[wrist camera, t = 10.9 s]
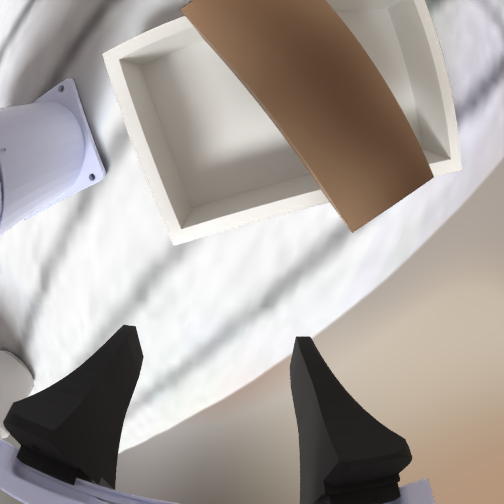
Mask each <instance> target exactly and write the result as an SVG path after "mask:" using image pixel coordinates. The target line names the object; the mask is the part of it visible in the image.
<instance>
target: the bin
mask: <svg viewBox="0 0 504 504" xmlns="http://www.w3.org/2000/svg"><path fill="white" fill-rule="evenodd" d="M326 1H327V2H328V3H329V5H330V6H331V7H332V8H333V9H334V11H335V12H336V13H337V14H338V15H339V17H340V18H341V19H342V20H343V22H344V23H345V24H346V25H347V27H348V28H349V29H350V31H351V32H352V33H353V35H354V36H355V37H356V39H357V40H358V41H359V43H360V44H361V46H362V47H363V48H364V50H365V51H366V53H367V54H368V56H369V57H370V58H371V60H372V61H373V63H374V64H375V66H376V67H377V69H378V71H379V72H380V74H381V75H382V77H383V78H384V80H385V82H386V83H387V85H388V87H389V88H390V90H391V92H392V93H393V95H394V97H395V98H396V100H397V102H398V104H399V105H400V107H401V109H402V111H403V113H404V115H405V116H406V118H407V120H408V122H409V124H410V126H411V128H412V130H413V132H414V134H415V136H416V138H417V140H418V142H419V144H420V146H421V148H422V150H423V153H424V155H425V157H426V159H427V162H428V164H429V166H430V168H431V171H432V173H433V176H438V175H443V174H447V173H452V172H456V171H461V170H462V168H461V155H460V145H459V136H458V128H457V121H456V115H455V109H454V103H453V98H452V92H451V88H450V83H449V78H448V74H447V70H446V66H445V62H444V58H443V54H442V51H441V47H440V44H439V40H438V37H437V34H436V31H435V28H434V25H433V22H432V19H431V16H430V13H429V11H428V8H427V5H426V3H425V0H326ZM102 55H103V59H104V62H105V65H106V69H107V72H108V75H109V78H110V81H111V84H112V87H113V91H114V94H115V97H116V100H117V103H118V105H119V108H120V111H121V114H122V117H123V120H124V123H125V126H126V128H127V131H128V134H129V137H130V139H131V142H132V145H133V147H134V150H135V153H136V155H137V158H138V161H139V163H140V166H141V168H142V171H143V174H144V176H145V179H146V181H147V184H148V186H149V189H150V191H151V193H152V196H153V198H154V201H155V203H156V206H157V208H158V210H159V213H160V215H161V217H162V220H163V222H164V224H165V227H166V229H167V231H168V234H169V236H170V238H171V240H172V243H173V245H174V246H175V245H178V244H181V243H185V242H188V241H192V240H195V239H198V238H202V237H205V236H209V235H212V234H216V233H219V232H222V231H226V230H229V229H233V228H236V227H240V226H244V225H247V224H251V223H254V222H258V221H261V220H265V219H269V218H272V217H276V216H280V215H283V214H287V213H291V212H294V211H298V210H302V209H306V208H309V207H313V206H317V205H321V204H325V203H328V202H329V200H328V199H327V198H326V196H325V195H324V194H323V192H322V191H321V189H320V188H319V186H318V185H317V183H316V182H315V180H314V179H313V177H312V176H311V174H310V173H309V171H308V170H307V169H306V167H305V166H304V164H303V163H302V161H301V160H300V159H299V157H298V156H297V154H296V153H295V152H294V150H293V149H292V147H291V146H290V145H289V143H288V142H287V141H286V139H285V138H284V136H283V135H282V134H281V132H280V131H279V130H278V128H277V127H276V126H275V124H274V123H273V122H272V120H271V119H270V118H269V117H268V115H267V114H266V113H265V111H264V110H263V109H262V108H261V106H260V105H259V104H258V102H257V101H256V100H255V99H254V97H253V96H252V95H251V94H250V92H249V91H248V90H247V89H246V88H245V86H244V85H243V84H242V83H241V82H240V80H239V79H238V78H237V77H236V76H235V74H234V73H233V72H232V71H231V70H230V68H229V67H228V66H227V65H226V64H225V63H224V61H223V60H222V59H221V58H220V57H219V56H218V55H217V53H216V52H215V51H214V50H213V49H212V48H211V47H210V46H209V45H208V43H207V42H206V41H205V40H204V39H203V38H202V36H201V35H200V34H199V33H198V31H197V30H196V29H195V27H194V26H193V25H192V24H191V22H190V21H189V20H188V19H187V17H186V16H183V17H180V18H177V19H175V20H172V21H170V22H167V23H165V24H162V25H160V26H158V27H155V28H153V29H151V30H149V31H146V32H144V33H142V34H140V35H138V36H136V37H134V38H132V39H130V40H128V41H126V42H124V43H122V44H120V45H118V46H116V47H114V48H112V49H110V50H108V51H107V52H105V53H103V54H102Z"/></svg>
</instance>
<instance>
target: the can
mask: <svg viewBox="0 0 504 504" xmlns="http://www.w3.org/2000/svg"><path fill="white" fill-rule="evenodd" d="M33 387H34V381H33V379H32V374H31V372H30V370H29V369H28V367H27V366H26V365H25V364H24V363H23V362H22V361H21V360H20V359H19V358H18V357H17V356H15V355H14V354H12V353H11V352H8V351H5V350H3V351H1V350H0V439H1V438H6V437H8V436H9V434H10V433H9V432H8V431H7V430H6V429H5V427H4V425H3V421H4V419H5V417H6V415H7V413H8V411H9V409H10V407H11V406H12V404H13V402H16V401H19V400H22V399H24V398H27V397H28V396H29V394H30V392H31V390H32V388H33Z"/></svg>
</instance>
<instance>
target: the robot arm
mask: <svg viewBox="0 0 504 504" xmlns="http://www.w3.org/2000/svg"><path fill="white" fill-rule="evenodd" d="M62 86H64V90H63V91H61V88H62ZM92 174H94V175H95V179H93V178H92V176H91V175H92ZM105 176H106V172H105V169H104V166H103V163H102V161H101V158H100V156H99V153H98V150H97V148H96V145H95V142H94V140H93V137H92V134H91V131H90V128H89V126H88V123H87V120H86V117H85V114H84V111H83V108H82V105H81V102H80V98H79V95H78V92H77V89H76V85H75V82H74V80H73V79H71V78H67V79H65V80H63V81H62V82H60V83H59V84H57V85H56V86H55V87H53V88H52V89H50V90H49V91H48V92H46V93H45V94H44V95H42V96H41V97H40V98H38V99H37V100H36V101H34V102H33V103H32V104H25V105H18V106H12V107H5V108H0V235H2V234H3V233H4V232H6V231H7V230H9V229H10V228H11V227H13V226H14V225H16V224H17V223H19V222H20V221H21V220H23V219H24V220H27V219H29V218H31V217H33V216H34V215H36V214H38V213H40V212H41V211H43V210H45V209H47V208H48V207H50V206H52V205H54V204H56V203H58V202H59V201H61V200H63V199H65V198H67V197H69V196H71V195H73V194H75V193H77V192H79V191H81V190H83V189H85V188H87V187H89V186H91V185H93V184H95V183H97V182H99V181H101V180H103V179H104V178H105ZM142 361H143V353H142V350H141V346H140V342H139V338H138V334H137V330H136V326H128V325H123V326H122V327H121V328H120V329H119V330H118V331H117V332H116V333H115V334H114V335H113V336H112V337H111V338H110V339H109V340H108V341H107V342H106V343H105V344H104V345H103V346H102V347H101V348H100V349H99V350H97V351H96V352H95V353H94V354H93V355H92V356H91V357H90V358H89V359H88V360H86V361H85V362H84V363H83V364H82V365H81V366H80V367H78V368H77V369H76V370H74V371H73V372H72V373H70V374H69V375H68V376H66V377H65V378H63V379H62V380H60V381H58V382H57V383H55V384H53V385H52V386H50V387H48V388H46V389H44V390H43V391H41V392H38V393H36V394H34V395H32V396H30V397H27V398H24V399H22V400H19V401H16V402H13V404H12V406H11V407H10V409H9V411H8V413H7V415H6V417H5V419H4V421H3V425H4V427H5V429H6V430H7V431H8V432H9V433H10V434H11V435H12V436H13V437H14V438H15V439H16V440H17V441H18V442H19V443H20V444H21V447H20V450H19V449H18V448H16V447H15V446H13V445H11V444H9V443H7V442H6V441H4V440H2V439H0V489H1V490H3V491H4V492H6V493H7V494H9V495H10V496H12V497H14V498H15V499H17V500H19V501H21V502H22V503H24V504H179V503H172V502H167V501H161V500H156V499H150V498H146V497H141V496H137V495H132V494H128V493H124V492H121V491H117V490H115V480H116V466H117V457H118V449H119V443H120V437H121V432H122V427H123V422H124V418H125V415H126V412H127V409H128V406H129V403H130V400H131V398H132V395H133V392H134V389H135V386H136V384H137V381H138V378H139V375H140V370H141V366H142ZM290 380H291V390H292V396H293V402H294V408H295V413H296V418H297V425H298V432H299V447H300V504H435V501H434V497H433V494H432V490H431V487H430V483H429V480H428V479H427V478H426V479H423V480H420V481H416V482H413V483H410V484H406V485H403V486H401V487H398V483H397V482H399V481H400V477H399V473H400V472H401V471H402V470H403V469H404V468H405V467H406V466H408V464H409V463H410V462H411V460H412V455H411V452H410V449H409V446H408V444H407V443H406V440H405V439H404V438H402V437H401V436H399V435H398V434H396V433H394V432H393V431H391V430H389V429H388V428H387V427H385V426H384V425H382V424H381V423H380V422H378V421H377V420H376V419H375V418H373V417H372V416H371V415H370V414H369V413H368V412H366V411H365V410H364V409H363V408H362V407H361V406H360V405H359V404H358V403H357V402H356V401H355V400H354V399H353V398H352V397H351V395H350V394H349V393H348V392H347V391H346V390H345V389H344V387H343V386H342V385H341V384H340V382H339V381H338V380H337V379H336V377H335V376H334V374H333V373H332V371H331V370H330V369H329V367H328V366H327V364H326V363H325V361H324V359H323V358H322V356H321V355H320V353H319V351H318V350H317V348H316V346H315V344H314V342H313V341H312V339H311V338H310V337H296V339H295V344H294V349H293V354H292V359H291V364H290Z"/></svg>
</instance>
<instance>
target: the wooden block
mask: <svg viewBox="0 0 504 504" xmlns="http://www.w3.org/2000/svg"><path fill="white" fill-rule="evenodd" d="M180 10H181V11H182V12H183V14H184V15H185V16H186V17H187V19H188V20H189V21H190V22H191V24H192V25H193V26H194V27H195V29H196V30H197V31H198V33H199V34H200V35H201V36H202V38H203V39H204V40H205V41H206V42H207V43H208V45H209V46H210V47H211V48H212V49H213V50H214V51H215V52H216V53H217V55H218V56H219V57H220V58H221V59H222V60H223V61H224V63H225V64H226V65H227V66H228V67H229V68H230V70H231V71H232V72H233V73H234V74H235V76H236V77H237V78H238V79H239V80H240V82H241V83H242V84H243V85H244V86H245V88H246V89H247V90H248V91H249V92H250V94H251V95H252V96H253V97H254V99H255V100H256V101H257V102H258V104H259V105H260V106H261V108H262V109H263V110H264V111H265V113H266V114H267V115H268V117H269V118H270V119H271V120H272V122H273V123H274V124H275V126H276V127H277V128H278V130H279V131H280V132H281V134H282V135H283V136H284V138H285V139H286V141H287V142H288V143H289V145H290V146H291V147H292V149H293V150H294V152H295V153H296V154H297V156H298V157H299V159H300V160H301V161H302V163H303V164H304V166H305V167H306V169H307V170H308V171H309V173H310V174H311V176H312V177H313V179H314V180H315V182H316V183H317V185H318V186H319V188H320V189H321V191H322V192H323V194H324V195H325V196H326V198H327V199H328V200H329V202H330V203H331V204H332V206H333V207H334V208H335V210H336V211H337V212H338V214H339V215H340V217H341V218H342V219H343V221H344V222H345V224H346V225H347V226H348V228H349V229H350V231H351V232H352V233H353V232H354V231H356V230H357V229H359V228H360V227H362V226H363V225H365V224H366V223H368V222H369V221H371V220H372V219H374V218H375V217H377V216H378V215H380V214H381V213H383V212H384V211H386V210H387V209H389V208H390V207H392V206H393V205H394V204H396V203H397V202H399V201H400V200H402V199H403V198H405V197H406V196H408V195H409V194H411V193H412V192H413V191H415V190H416V189H418V188H419V187H421V186H422V185H423V184H425V183H426V182H428V181H429V180H431V179H432V178H433V177H434V176H433V173H432V171H431V168H430V166H429V164H428V162H427V159H426V157H425V155H424V153H423V150H422V148H421V146H420V144H419V142H418V140H417V138H416V136H415V134H414V132H413V130H412V128H411V126H410V124H409V122H408V120H407V118H406V116H405V115H404V113H403V111H402V109H401V107H400V105H399V104H398V102H397V100H396V98H395V97H394V95H393V93H392V92H391V90H390V88H389V87H388V85H387V83H386V82H385V80H384V78H383V77H382V75H381V74H380V72H379V71H378V69H377V67H376V66H375V64H374V63H373V61H372V60H371V58H370V57H369V56H368V54H367V53H366V51H365V50H364V48H363V47H362V46H361V44H360V43H359V41H358V40H357V39H356V37H355V36H354V35H353V33H352V32H351V31H350V29H349V28H348V27H347V25H346V24H345V23H344V22H343V20H342V19H341V18H340V17H339V15H338V14H337V13H336V12H335V11H334V9H333V8H332V7H331V6H330V5H329V3H328V2H327V1H326V0H193V1H191V2H190V3H189V4H187V5H186V6H184V7H183V8H182V9H180Z"/></svg>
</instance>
